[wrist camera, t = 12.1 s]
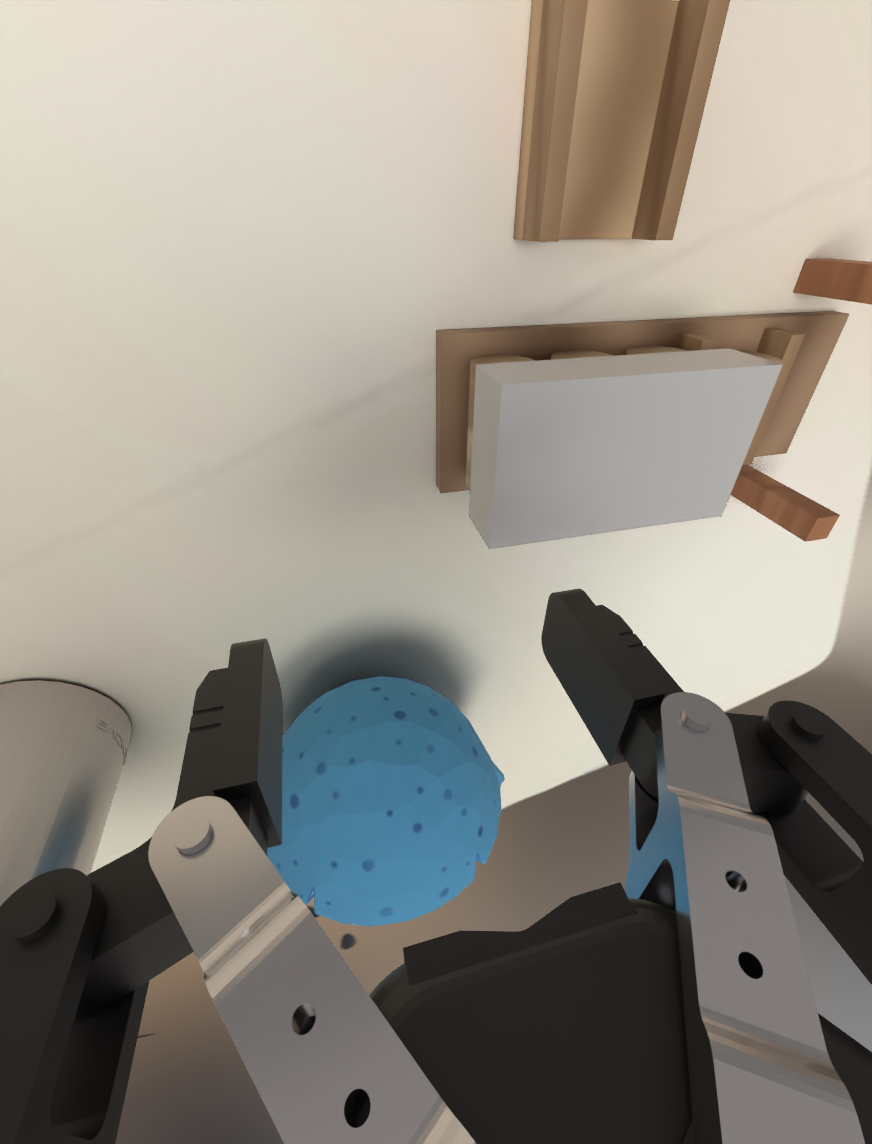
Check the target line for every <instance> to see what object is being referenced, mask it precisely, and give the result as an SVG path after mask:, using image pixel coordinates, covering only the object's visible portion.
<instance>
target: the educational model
mask: <svg viewBox="0 0 872 1144" xmlns="http://www.w3.org/2000/svg"><path fill="white" fill-rule="evenodd" d="M504 780H505V779H504V775H503V774H502V772H501V771H500V770H499V769H498V768H497V766H496V765H495V764H494V763H493V761H492V760H491V758H490V756H489V755H488V753H487V751H486V749H485V748H484V746H483V744H482V742H481V741H480V739H479V737H478V735H477V734H476V732H475V730H474V729H473V727H472V725H471V723H470V722H469V720H468V719H467V718H466V717H465V716H464V715H463V714H462V713H461V711H460V710H459V709H458V708H457V707H456V706H455V705H454V704H453V702H451V701H450V700H448V699H447V698H445V697H444V696H442V695H441V694H439V693H438V692H436V691H435V690H433V689H432V688H430V687H428V686H426V685H423V684H420V683H417V682H414V681H412V680H409V679H406V678H396V677H386V676H378V677H372V678H366V679H360V680H355V681H351V682H349V683H346V684H344V685H342V686H339V687H337V688H335V689H332V690H330V691H328V692H326V693H324V694H323V695H322V696H320V697H319V698H318V699H317V700H315V701H314V702H313V703H311V704H310V705H309V706H307V707H306V708H305V709H304V711H303V712H302V713H301V714H300V715H299V716H298V717H297V718H296V719H295V721H294V722H293V723H292V725H291V726H290V727H289V728H288V730H287V731H286V732H285V734H284V735H283V737H282V845H278V846H274V847H270V848H267V857H268V858H269V860H270V861H271V863H272V864H273V866H274V867H275V869H276V870H277V871H278V873H279V874H280V876H281V877H282V879H283V880H284V881H285V883H286V884H287V886H288V887H289V888H290V890H291V891H292V892H293V893H296V894H297V895H298V896H299V897H300V899H301V900H302V901H303V902H304V904H305V905H307V904H308V903H309V901H310V900H311V899H312V898H313V897H314V898H315V899H314V912H315V913H316V914H317V915H320V916H323V917H326V918H328V919H331V920H334V921H337V922H340V923H344V924H352V925H362V926H370V927H372V926H378V925H385V924H391V923H398V922H405V921H409V920H411V919H414V918H417V917H419V916H422V915H424V914H427V913H429V912H432V911H434V910H436V909H438V908H439V907H441V906H442V905H444V904H445V903H447V902H448V901H450V900H452V899H453V898H454V897H456V896H457V895H458V894H459V893H460V892H461V891H462V890H463V889H465V888H466V887H467V886H468V885H469V884H470V883H471V882H472V881H473V880H474V877H475V862H476V861H478V862H480V863H482V864H485V863H486V861H487V859H488V857H489V854H490V852H491V849H492V847H493V844H494V842H495V839H496V837H497V832H498V825H499V819H500V812H501V796H500V786H501V783H502V782H503V781H504Z"/></svg>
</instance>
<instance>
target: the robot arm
mask: <svg viewBox="0 0 872 1144" xmlns="http://www.w3.org/2000/svg"><path fill="white" fill-rule="evenodd" d="M542 647H543V651H544V654H545V657H546V659H547V661H548V662H549V664H550V666H551V668H552V669H553V671H554V673H555V674H556V676H557V678H558V679H559V681H560V683H561V684H562V686H563V688H564V689H565V691H566V693H567V695H568V696H569V698H570V700H571V701H572V703H573V705H574V706H575V708H576V710H577V711H578V713H579V715H580V716H581V718H582V720H583V722H584V723H585V725H586V727H587V728H588V730H589V732H590V733H591V735H592V737H593V738H594V740H595V742H596V743H597V745H598V747H599V748H600V750H601V752H602V754H603V755H604V757H605V759H606V760H607V762H608V764H609V765H613V764H618V763H622V762H625V761H627V763H628V765H629V766H630V768H631V769H632V772H631V775H630V779H629V796H630V798H629V801H630V861H629V868H628V873H627V877H626V883H625V891H624V889H623V887H622V885H621V883H617V884H613V885H610V886H607V887H603V888H601V889H597V890H593V891H590V892H587V893H584V894H580V895H577V896H574V897H571V898H569V899H568V900H567V901H565V902H564V903H562V904H561V905H559V906H558V907H557V908H555V909H554V910H553V911H551V912H550V913H548V914H547V915H546V916H545V917H543V918H542V919H540V920H539V921H538V922H536V923H535V924H533V925H532V926H531V927H529V928H528V929H526V930H524V931H520V932H501V931H498V932H497V931H458V932H455V933H451V934H448V935H445V936H441V937H438V938H435V939H432V940H428V941H425V942H421V943H418V944H415V945H412V946H408V947H405V948H403V952H404V962H405V963H404V964H403V965H401V966H400V967H398V968H397V969H395V970H394V971H392V972H391V973H390V974H389V975H388V976H387V977H386V978H385V979H384V980H383V981H381V982H380V983H379V984H378V986H377V987H376V988H375V989H374V990H373V991H372V993H371V994H370V995H368V993H367V992H366V990H365V989H364V988H363V986H362V985H361V983H360V982H359V980H358V979H357V978H356V976H355V975H354V973H353V972H352V970H351V969H350V968H349V966H348V965H347V963H346V962H345V961H344V959H343V958H342V956H341V955H340V953H339V952H338V951H337V949H336V948H335V946H334V945H333V943H332V942H331V940H330V939H329V938H328V936H327V935H326V933H325V932H324V931H323V929H322V928H321V926H320V925H319V923H318V922H317V921H316V919H315V918H314V916H313V915H312V913H311V912H310V911H309V909H308V908H307V906H306V905H305V904H304V902H303V901H302V900H301V899H300V897H299V896H298V895H297V894H296V893H293V892H292V891H291V890H290V888H289V887H288V886H287V884H286V883H285V881H284V880H283V879H282V877H281V876H280V874H279V873H278V871H277V870H276V869H275V867H274V866H273V864H272V863H271V861H270V860H269V858H268V857H267V848H270V847H274V846H278V845H282V727H283V706H282V694H281V688H280V683H279V679H278V675H277V672H276V668H275V665H274V661H273V658H272V654H271V650H270V647H269V643H268V641H267V639H260V640H253V641H247V642H241V643H235V644H232V646H231V650H230V658H229V666H228V668H224V669H218V670H213V671H210V672H209V673H208V675H207V676H206V677H205V679H204V680H203V682H202V683H201V685H200V686H199V688H198V689H197V691H196V696H195V701H194V707H193V716H192V717H191V723H190V728H189V729H190V733H188V739H187V744H186V749H185V755H184V760H183V765H182V770H181V776H180V781H179V786H178V792H177V797H176V801H175V805H174V807H173V809H172V812H170V813H169V814H168V815H167V816H166V817H165V818H164V819H163V821H162V822H161V823H160V824H159V826H158V827H157V829H156V831H155V832H154V834H153V836H152V837H151V838H150V839H149V840H148V841H146V842H145V843H144V844H142V845H141V846H140V847H138V848H136V849H135V850H133V851H131V852H130V853H128V854H126V855H124V856H122V857H120V858H118V859H116V860H115V861H113V862H111V863H109V864H107V865H105V866H103V867H101V868H100V869H98V870H96V871H94V872H92V873H91V870H92V866H93V863H94V860H95V856H96V853H97V850H98V846H99V843H100V840H101V836H102V833H103V830H104V826H105V823H106V820H107V816H108V813H109V810H110V806H111V803H112V800H113V796H114V793H115V790H116V786H117V783H118V780H119V776H120V773H121V770H122V766H123V765H124V762H125V759H126V754H127V749H128V746H129V742H130V739H131V736H132V725H131V723H130V720H129V718H128V716H127V715H126V713H125V712H124V711H123V710H122V709H121V707H120V706H118V705H117V704H116V703H114V702H113V701H112V700H110V699H109V698H107V697H105V696H103V695H101V694H99V693H97V692H95V691H92V690H89V689H86V688H83V687H80V686H77V685H72V684H67V683H62V682H53V681H40V680H38V681H18V682H12V683H6V684H1V685H0V1144H115V1142H116V1137H117V1132H118V1128H119V1123H120V1118H121V1113H122V1108H123V1104H124V1099H125V1094H126V1089H127V1085H128V1080H129V1075H130V1070H131V1066H132V1061H133V1056H134V1051H135V1046H136V1042H137V1037H138V1032H139V1028H140V1023H141V1018H142V1013H143V1008H144V1004H145V998H146V994H147V989H148V984H149V980H151V979H152V978H154V977H155V976H157V975H158V974H160V973H161V972H163V971H164V970H166V969H167V968H169V967H171V966H172V965H174V964H175V963H177V962H178V961H180V960H181V959H183V958H184V957H186V956H187V955H189V954H191V953H192V952H194V953H195V955H196V957H197V959H198V961H199V963H200V965H201V967H202V970H203V972H204V980H205V983H206V986H207V988H208V990H209V993H210V995H211V997H212V999H213V1001H214V1003H215V1006H216V1007H217V1010H218V1012H219V1013H220V1016H221V1018H222V1020H223V1022H224V1024H225V1026H226V1028H227V1030H228V1032H229V1034H230V1036H231V1038H232V1040H233V1042H234V1044H235V1045H236V1048H237V1050H238V1052H239V1054H240V1056H241V1058H242V1060H243V1062H244V1064H245V1066H246V1068H247V1070H248V1072H249V1074H250V1076H251V1078H252V1080H253V1082H254V1084H255V1086H256V1088H257V1090H258V1092H259V1094H260V1096H261V1098H262V1100H263V1102H264V1104H265V1106H266V1108H267V1110H268V1112H269V1114H270V1116H271V1118H272V1120H273V1122H274V1124H275V1126H276V1128H277V1130H278V1132H279V1134H280V1136H281V1138H282V1140H283V1142H284V1144H872V1052H871V1051H869V1050H868V1049H866V1048H865V1047H864V1046H862V1045H861V1044H860V1043H858V1042H857V1041H856V1040H854V1039H853V1038H851V1037H850V1036H849V1035H847V1034H846V1033H845V1032H843V1031H842V1030H840V1029H839V1028H838V1027H836V1026H835V1025H833V1024H832V1023H831V1022H829V1021H828V1020H827V1019H825V1018H824V1017H822V1016H821V1015H820V1014H818V1012H817V1008H816V1005H815V1000H814V996H813V992H812V988H811V984H810V979H809V976H808V971H807V967H806V964H805V959H804V955H803V951H802V947H801V943H800V939H799V935H798V931H797V927H796V923H795V918H794V914H793V911H792V907H791V903H790V898H789V894H788V890H787V886H786V882H785V878H784V875H785V876H786V878H787V879H788V880H789V881H790V883H791V884H792V885H793V886H794V888H795V889H796V890H797V891H798V893H799V894H800V895H801V896H802V898H803V899H804V900H805V901H806V903H807V904H808V905H809V906H810V908H811V909H812V910H813V912H814V913H815V914H816V915H817V917H818V918H819V919H820V920H821V922H822V923H823V924H824V925H825V927H826V928H827V929H828V930H829V932H830V933H831V934H832V935H833V937H834V938H835V939H836V940H837V941H838V943H839V944H840V945H841V947H842V948H843V949H844V950H845V952H846V953H847V954H848V955H849V957H850V958H851V959H852V960H853V962H854V963H855V964H856V966H857V967H858V968H859V969H860V971H861V972H862V973H863V974H864V976H865V977H866V978H867V979H868V981H869V982H870V983H871V984H872V754H871V753H870V752H868V751H867V750H866V749H865V748H864V747H862V745H860V744H859V743H858V742H857V741H856V740H855V739H854V738H852V737H851V736H850V735H849V734H848V733H847V732H845V731H844V730H843V729H842V728H841V727H840V726H839V725H838V724H837V723H835V722H834V721H833V720H832V719H831V718H829V717H828V716H827V715H825V714H824V713H822V712H821V711H819V710H817V709H815V708H813V707H811V706H809V705H806V704H803V703H800V702H795V701H779V702H777V703H774V704H773V705H772V706H771V707H770V709H769V710H768V712H767V713H766V715H765V716H755V715H744V714H732V713H725V712H724V711H723V710H722V709H721V708H720V707H719V706H717V705H716V704H715V703H713V702H712V701H710V700H708V699H706V698H705V697H702V696H700V695H697V694H693V693H687V692H684V691H683V690H682V689H681V688H680V687H679V686H678V684H677V683H676V682H675V681H674V680H673V678H672V677H671V676H670V675H669V674H668V672H667V671H666V670H665V669H664V668H663V667H662V665H661V664H660V663H659V662H658V661H657V659H656V658H655V657H654V656H653V655H652V653H651V652H650V651H649V650H648V649H647V648H646V646H643V643H642V642H641V640H640V639H639V638H638V637H637V636H636V634H633V631H632V630H631V628H630V627H629V626H628V625H627V624H626V623H625V621H624V620H623V619H622V618H621V617H620V616H619V615H617V614H616V613H614V612H613V611H611V610H610V609H608V608H607V607H605V606H603V605H598V606H595V604H594V603H593V602H592V601H591V599H590V598H589V597H588V596H587V594H586V593H585V592H584V591H583V590H581V589H574V590H568V591H562V592H556V593H552V594H551V595H550V596H549V600H548V605H547V610H546V615H545V621H544V626H543V632H542ZM809 793H810V794H811V795H812V796H813V797H814V798H815V799H816V800H817V801H818V802H819V803H820V805H821V806H822V807H823V808H824V809H825V810H826V811H827V812H828V813H829V814H830V815H831V816H832V817H833V818H834V819H835V820H836V821H837V822H838V823H839V824H840V825H841V826H842V828H843V829H844V830H845V831H846V832H847V833H848V834H849V835H850V836H851V837H852V838H853V839H854V840H855V842H856V843H857V844H858V846H859V848H860V849H861V852H862V854H863V858H864V862H863V861H862V860H861V859H860V858H859V857H858V856H857V855H856V854H855V853H854V852H853V851H852V850H851V848H849V847H848V845H847V844H846V843H845V842H844V841H843V840H842V839H841V838H840V837H839V836H838V835H837V834H836V832H835V831H834V830H833V829H832V828H831V827H830V826H829V825H828V824H827V823H826V822H825V821H824V820H823V819H822V817H821V816H820V815H819V814H818V813H817V812H816V811H815V810H814V809H813V808H812V807H811V806H810V805H809V804H808V803H807V801H806V800H804V799H805V797H806V796H807V795H808V794H809Z"/></svg>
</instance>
